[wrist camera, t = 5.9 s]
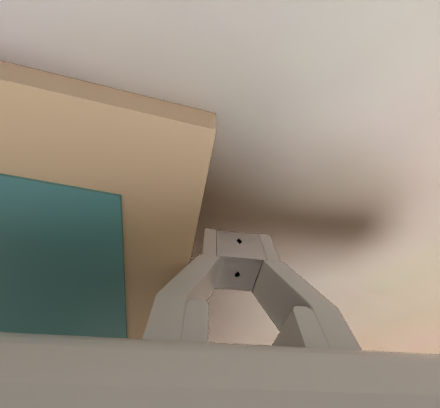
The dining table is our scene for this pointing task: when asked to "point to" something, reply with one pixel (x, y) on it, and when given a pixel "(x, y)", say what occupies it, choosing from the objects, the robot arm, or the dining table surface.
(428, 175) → the dining table surface
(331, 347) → the robot arm
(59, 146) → the carton
